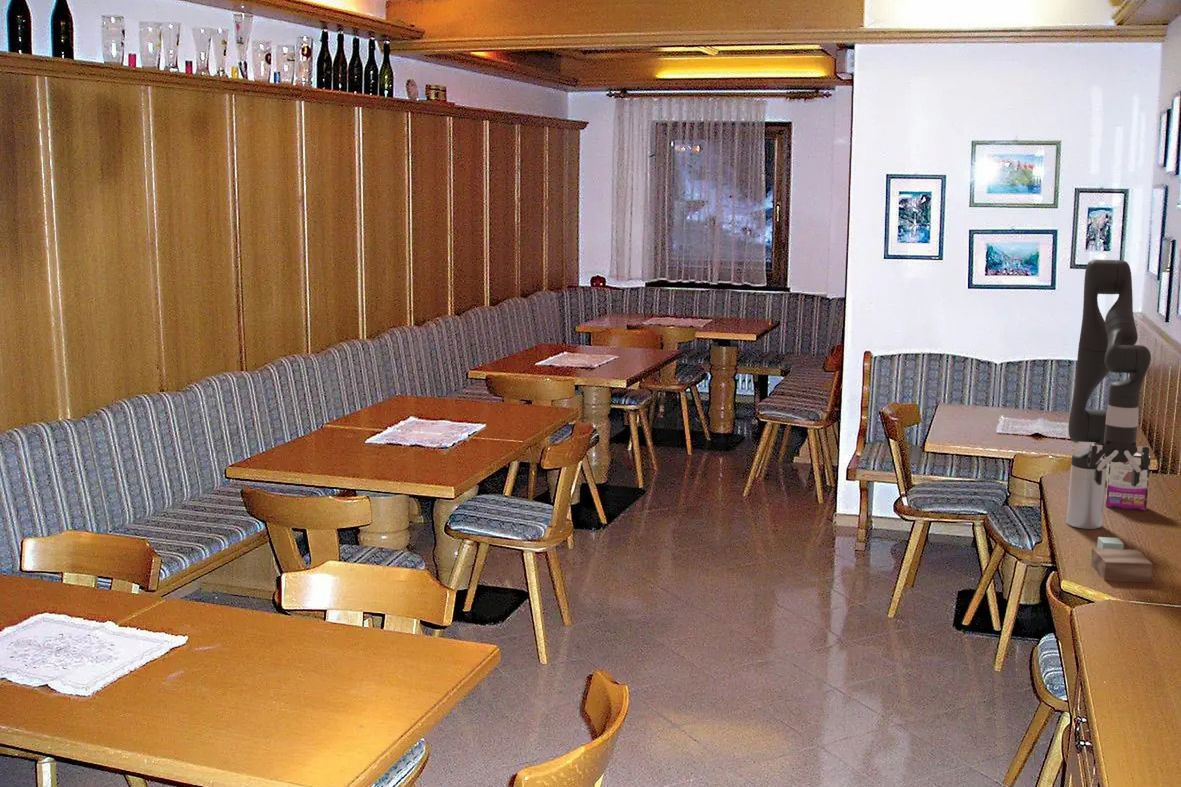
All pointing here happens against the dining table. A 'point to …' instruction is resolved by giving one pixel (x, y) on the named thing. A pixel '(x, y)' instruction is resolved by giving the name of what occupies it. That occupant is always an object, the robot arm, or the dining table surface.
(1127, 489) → the candy bar box
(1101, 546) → the teal cube
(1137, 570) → the walnut block
